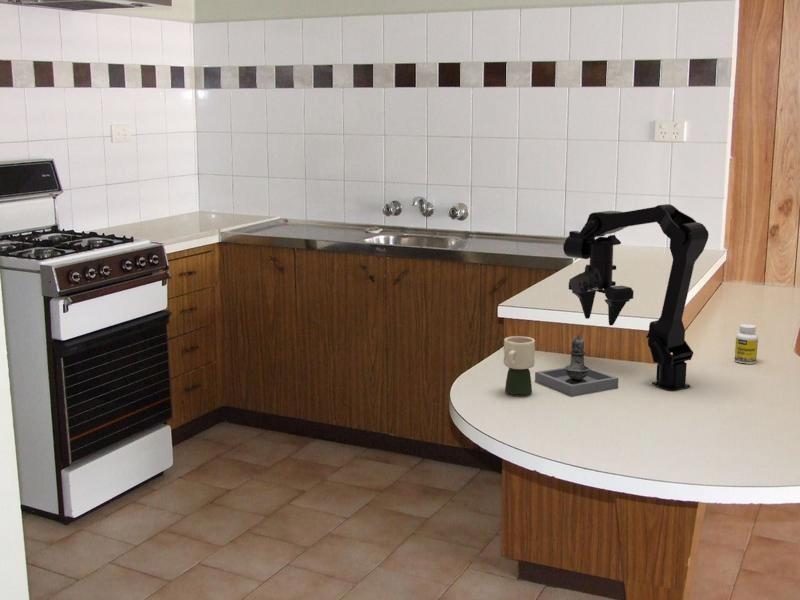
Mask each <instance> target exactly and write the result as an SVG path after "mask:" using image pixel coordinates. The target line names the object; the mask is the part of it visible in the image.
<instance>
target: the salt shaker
mask: <svg viewBox="0 0 800 600" xmlns="http://www.w3.org/2000/svg"><path fill="white" fill-rule="evenodd" d="M569 354H570V355H571V357H570V363H569V364H568V365H566V366H564V367H565V369H566V373H567V375H568V376H569V377H570V379H568V380H566V381H565V382H567V383H569V384H572V385H573V384H579V383H584V382H587V381H586V380H584V379H583V378H585V377H586V376H587V374H588V371H589V368H590V367H588V366H587V365H585V354H586V352H585V340H584V338H581V337H580V334H579V333H578V334H577V335H576V337H574V338H573V339H572V341H571V351H570V352H569Z"/></svg>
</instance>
